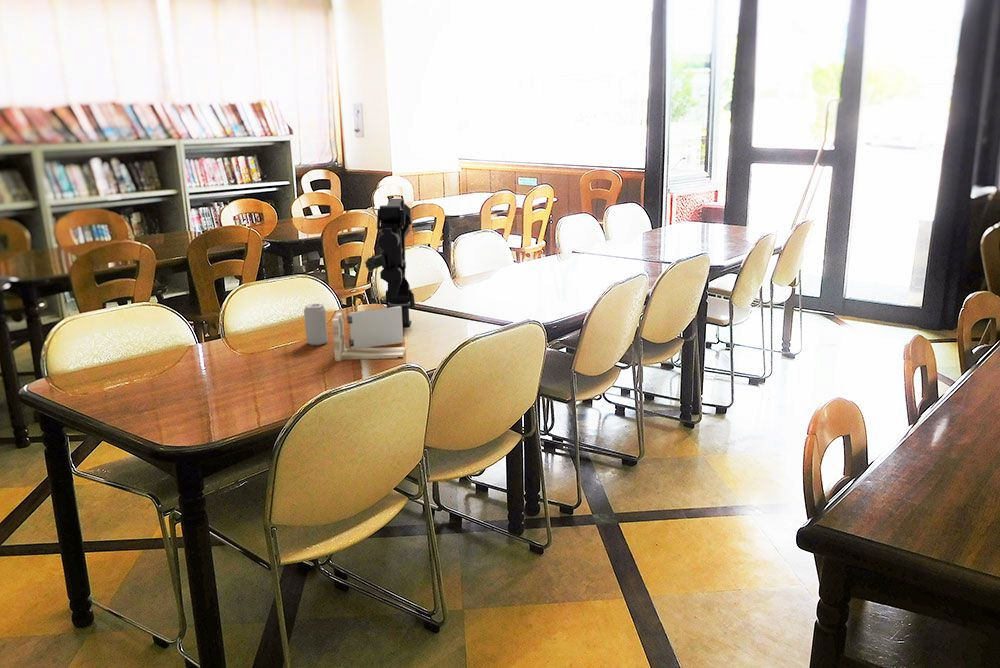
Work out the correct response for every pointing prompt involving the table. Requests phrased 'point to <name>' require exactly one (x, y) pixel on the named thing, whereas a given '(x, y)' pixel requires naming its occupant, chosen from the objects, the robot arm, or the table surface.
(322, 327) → the beverage can
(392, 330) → the cabinet door
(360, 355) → the cabinet corner
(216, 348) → the table surface
